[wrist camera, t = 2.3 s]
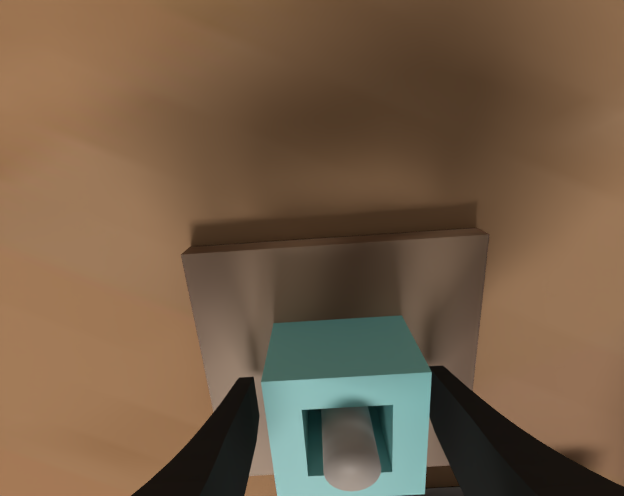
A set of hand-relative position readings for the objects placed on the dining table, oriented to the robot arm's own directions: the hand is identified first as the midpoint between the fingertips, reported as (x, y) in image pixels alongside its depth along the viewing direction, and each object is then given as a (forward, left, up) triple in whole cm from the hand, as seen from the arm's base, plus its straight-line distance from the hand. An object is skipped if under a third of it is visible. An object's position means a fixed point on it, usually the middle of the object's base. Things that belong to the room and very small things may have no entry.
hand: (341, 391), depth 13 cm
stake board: (0, 0, -2) cm, 2 cm away
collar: (0, 0, -1) cm, 1 cm away
